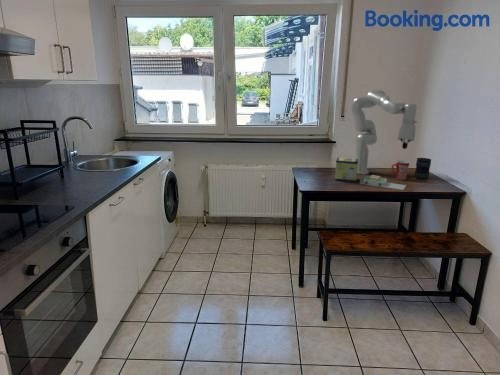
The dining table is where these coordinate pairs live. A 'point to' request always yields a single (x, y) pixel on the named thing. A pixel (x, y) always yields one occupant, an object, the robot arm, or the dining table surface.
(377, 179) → the beige square block
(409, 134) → the robot arm
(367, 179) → the cart
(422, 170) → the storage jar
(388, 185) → the track
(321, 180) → the dining table surface
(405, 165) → the mug
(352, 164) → the protein box
